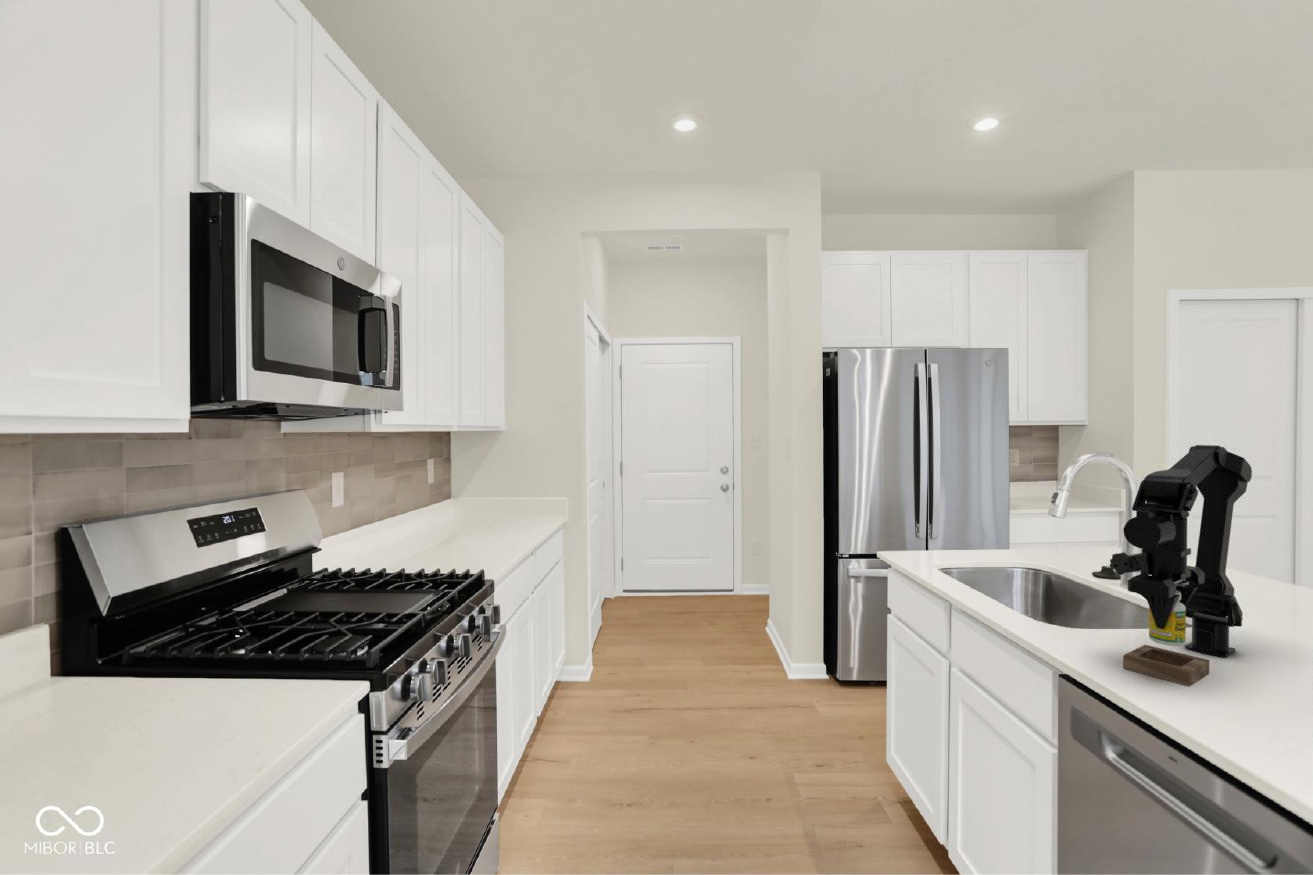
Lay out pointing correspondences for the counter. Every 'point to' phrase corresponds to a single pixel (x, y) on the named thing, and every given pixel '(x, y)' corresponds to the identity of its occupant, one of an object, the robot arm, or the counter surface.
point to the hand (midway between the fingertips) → (1166, 625)
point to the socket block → (1166, 664)
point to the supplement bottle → (1170, 627)
